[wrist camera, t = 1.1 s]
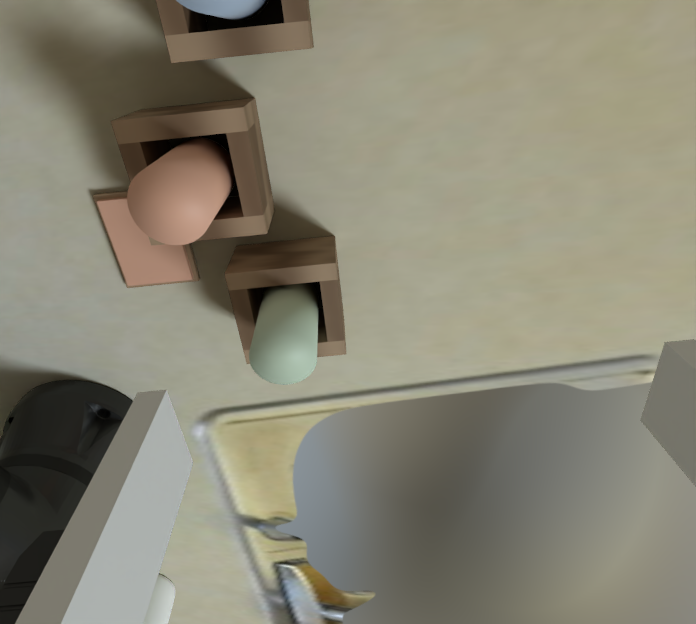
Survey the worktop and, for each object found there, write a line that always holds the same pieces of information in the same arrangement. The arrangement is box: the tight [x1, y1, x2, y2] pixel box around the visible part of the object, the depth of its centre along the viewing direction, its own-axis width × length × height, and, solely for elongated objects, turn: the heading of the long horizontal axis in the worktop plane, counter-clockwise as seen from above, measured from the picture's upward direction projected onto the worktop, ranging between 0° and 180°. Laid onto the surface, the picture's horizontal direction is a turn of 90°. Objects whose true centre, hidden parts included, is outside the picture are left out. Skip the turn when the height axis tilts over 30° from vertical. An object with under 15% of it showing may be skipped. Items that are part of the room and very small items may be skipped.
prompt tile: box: [93, 191, 200, 288], centre depth 41 cm, size 7×9×1 cm
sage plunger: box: [249, 282, 319, 385], centre depth 38 cm, size 5×5×9 cm
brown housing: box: [111, 98, 275, 246], centre depth 36 cm, size 9×9×6 cm
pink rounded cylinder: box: [127, 137, 236, 245], centre depth 32 cm, size 5×5×9 cm
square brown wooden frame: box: [224, 236, 346, 364], centre depth 42 cm, size 9×9×6 cm
